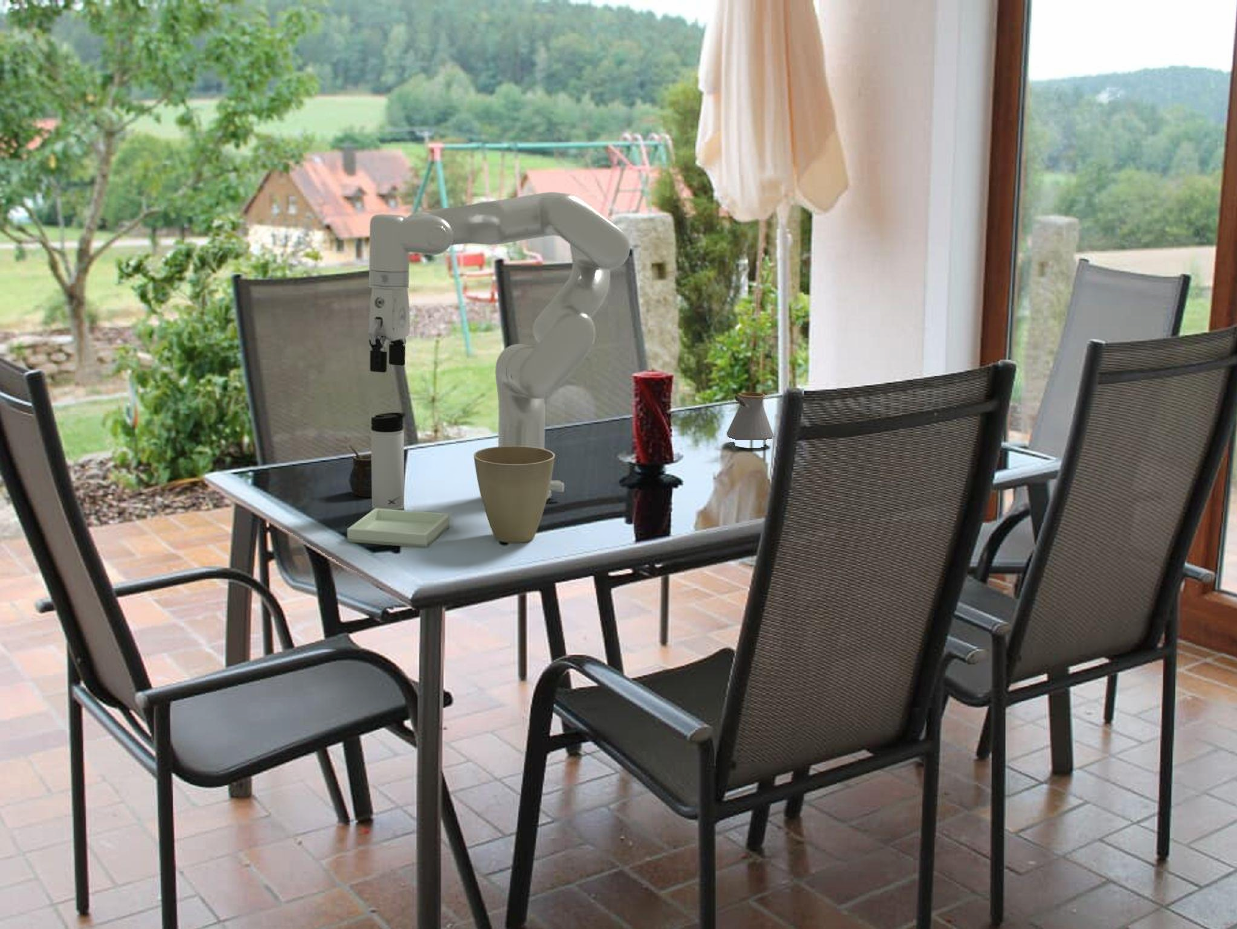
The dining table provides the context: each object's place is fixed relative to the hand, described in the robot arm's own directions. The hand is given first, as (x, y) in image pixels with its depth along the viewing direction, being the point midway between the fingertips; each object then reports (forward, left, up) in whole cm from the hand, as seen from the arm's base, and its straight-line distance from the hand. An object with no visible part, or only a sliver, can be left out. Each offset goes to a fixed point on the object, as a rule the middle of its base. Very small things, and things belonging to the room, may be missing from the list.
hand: (387, 368), depth 271 cm
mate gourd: (+8, -9, -29) cm, 31 cm away
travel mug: (-1, +3, -28) cm, 29 cm away
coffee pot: (-64, -75, -28) cm, 103 cm away
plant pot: (-29, +14, -28) cm, 43 cm away
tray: (-8, +17, -28) cm, 34 cm away
